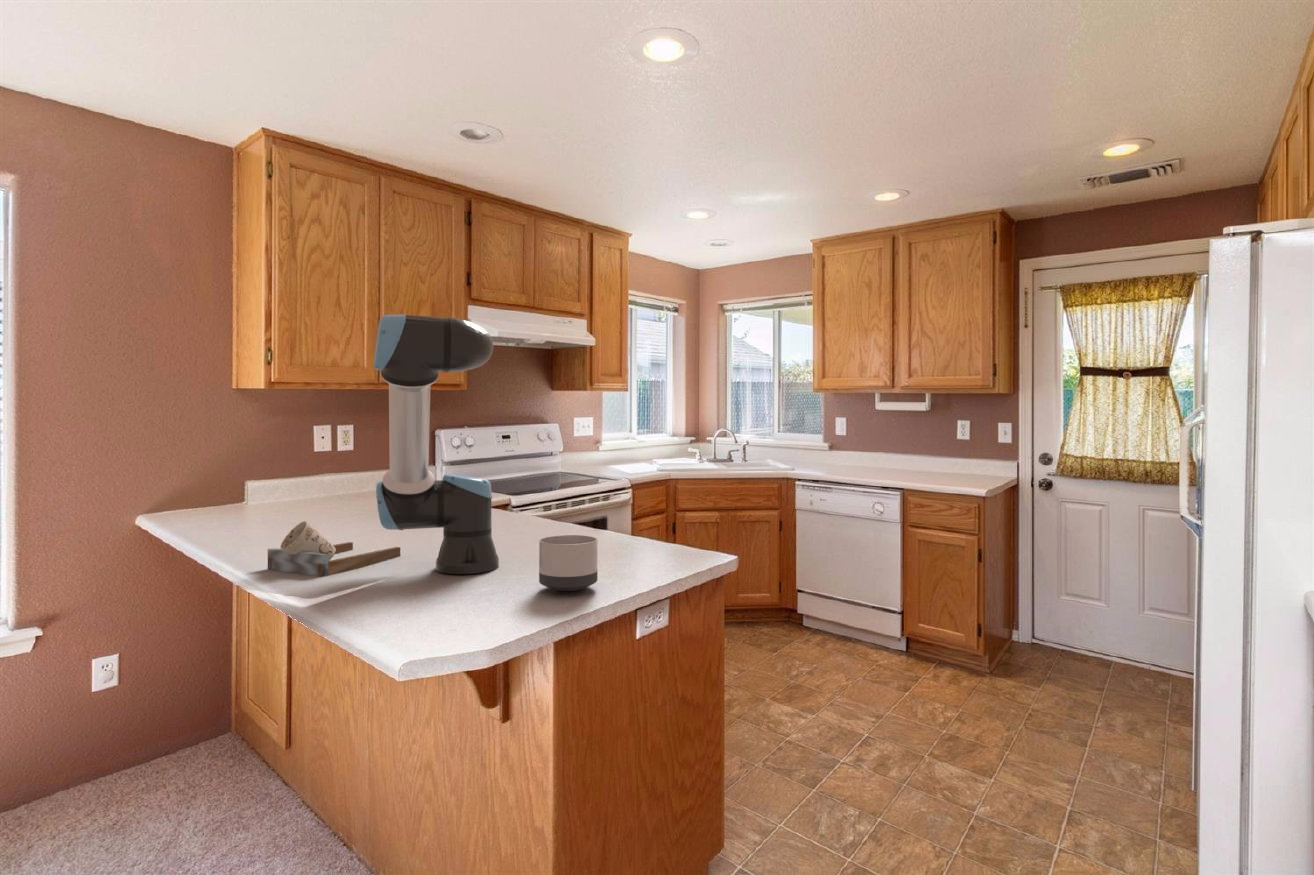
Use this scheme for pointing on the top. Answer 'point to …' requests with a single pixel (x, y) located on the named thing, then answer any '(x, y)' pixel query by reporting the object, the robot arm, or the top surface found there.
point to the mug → (306, 541)
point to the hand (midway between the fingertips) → (409, 467)
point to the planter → (568, 562)
